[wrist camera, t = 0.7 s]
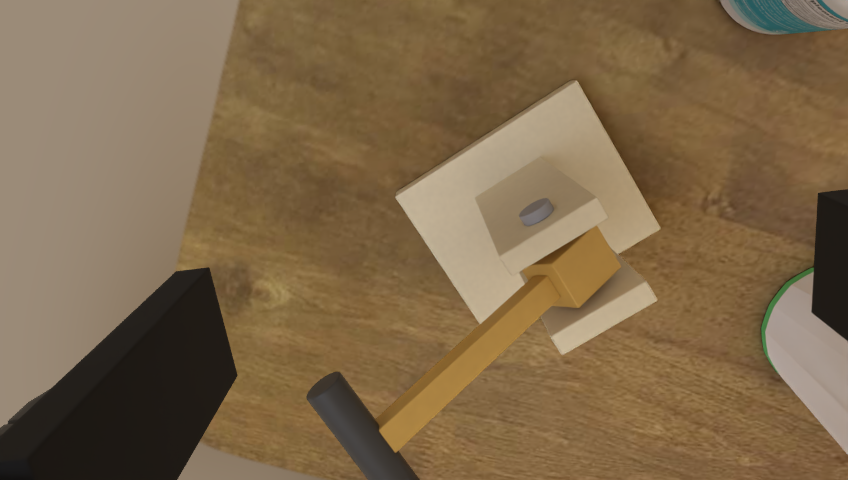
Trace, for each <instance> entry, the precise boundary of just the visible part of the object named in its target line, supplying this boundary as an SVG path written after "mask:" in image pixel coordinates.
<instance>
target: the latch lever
mask: <svg viewBox="0 0 848 480" xmlns="http://www.w3.org/2000/svg"><path fill="white" fill-rule="evenodd" d="M620 268H621V265H620V263H619V262H618V260H617V258H616V257H615V255H614V253H613V251H612V250H611V248H610V246H609V245H608V243H607V241H606V240H605V238H604V236H603V235H602V233H601V231H600V229H599V228H598V226H595V227H593V228H592V229H590V230H588V231H587V232H585V233H583V234H582V235H580V236H578V237H577V238H575V239H573V240H572V241H570V242H568V243H567V244H565V245H563V246H562V247H560V248H558V249H557V250H555V251H553V252H552V253H550V254H548V255H547V256H545V257H543V258H542V259H540V260H539V261H537V262H535V263H534V264H532V265H530V266H529V267H527V268H525V269H524V270H522V271H523V273H524V275H525V276H526V278H527V279H528V282H526V283H525V284H524V285H523V286H522V287H521V288H520V289H519V290H518V291H517V292H515V293H514V294H513V295H512V296H511V297H510V298H509V299H508V300H507V301H505V302H504V303H503V304H502V305H501V306H500V307H499V308H498V309H497V310H496V311H494V312H493V313H492V314H491V315H490V316H489V317H488V318H487V319H486V320H484V321H483V322H482V323H481V324H480V325H479V326H478V327H477V328H476V329H475V330H473V331H472V332H471V333H470V334H469V335H468V336H467V337H466V338H465V339H463V340H462V341H461V342H460V343H459V344H458V345H457V346H456V347H455V348H454V349H452V350H451V351H450V352H449V353H448V354H447V355H446V356H445V357H444V358H442V359H441V360H440V361H439V362H438V363H437V364H436V365H435V366H434V367H433V368H431V369H430V370H429V371H428V372H427V373H426V374H425V375H424V376H423V377H421V378H420V379H419V380H418V381H417V382H416V383H415V384H414V385H413V386H412V387H410V388H409V389H408V390H407V391H406V392H405V393H404V394H403V395H402V396H400V397H399V398H398V399H397V400H396V401H395V402H394V403H393V404H392V405H391V406H389V407H388V408H387V409H386V410H385V411H384V412H383V413H382V414H381V415H379V416H378V417H377V418H376V419H374V417H373V416H372V415H371V413H370V412H369V411H368V409H367V408H366V407H365V405H364V404H363V402H362V401H361V400H360V398H359V397H358V396H357V394H356V393H355V392H354V390H353V389H352V388H351V386H350V385H349V384H348V382H347V381H346V380H345V378H344V377H343V375H342V374H341V373H340V372H334V373H331V374H329V375H327V376H325V377H324V378H322V379H321V380H320V381H318V382H317V383H316V384H315V385H314V386H313V387H312V388H311V389H310V391H309V392H308V394H307V400H308V401H309V403H310V404H311V405H312V407H313V408H314V409H315V411H316V412H317V413H318V415H319V416H320V417H321V418H322V420H323V421H324V422H325V424H326V425H327V426H328V428H329V429H330V430H331V432H332V433H333V434H334V435H335V437H336V438H337V439H338V441H339V442H340V443H341V445H342V446H343V447H344V449H345V450H346V451H347V453H348V454H349V455H350V456H351V458H352V459H353V460H354V462H355V463H356V464H357V466H358V467H359V468H360V470H361V471H362V472H363V474H364V475H365V476H366V477H367V479H368V480H419V478H418V477H417V475H416V474H415V473H414V471H413V470H412V469H411V467H410V466H409V465H408V463H407V462H406V461H405V459H404V458H403V457H402V455H401V454H400V453H399V451H398V450H399V449H401V448H402V447H403V446H404V445H405V444H406V443H407V442H408V441H409V440H410V439H411V438H412V437H413V436H414V435H415V434H416V433H417V432H419V431H420V430H421V429H422V428H423V427H424V426H425V425H426V424H427V423H428V422H429V421H430V420H431V419H432V418H433V417H434V416H435V415H437V414H438V413H439V412H440V411H441V410H442V409H443V408H444V407H445V406H446V405H447V404H448V403H449V402H450V401H451V400H452V399H453V398H454V397H456V396H457V395H458V394H459V393H460V392H461V391H462V390H463V389H464V388H465V387H466V386H467V385H468V384H469V383H470V382H471V381H472V380H474V379H475V378H476V377H477V376H478V375H479V374H480V373H481V372H482V371H483V370H484V369H485V368H486V367H487V366H488V365H489V364H490V363H492V362H493V361H494V360H495V359H496V358H497V357H498V356H499V355H500V354H501V353H502V352H503V351H504V350H505V349H506V348H507V347H508V346H510V345H511V344H512V343H513V342H514V341H515V340H516V339H517V338H518V337H519V336H520V335H521V334H522V333H523V332H524V331H525V330H526V329H528V328H529V327H530V326H531V325H532V324H533V323H534V322H535V321H536V320H537V319H538V318H539V317H540V316H541V315H542V314H543V313H544V312H545V311H547V310H548V309H549V308H550V307H551V306H560V307H573V308H579V307H581V306H582V305H583V304H584V303H585V302H586V301H587V300H588V299H589V298H590V297H591V296H592V295H593V294H594V293H595V292H596V291H597V290H598V289H599V288H600V287H601V286H602V285H603V284H604V283H605V282H606V281H607V280H608V279H609V278H610V277H611V276H612V275H614V274H615V273H616V272H617V271H618V270H619V269H620Z"/></svg>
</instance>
